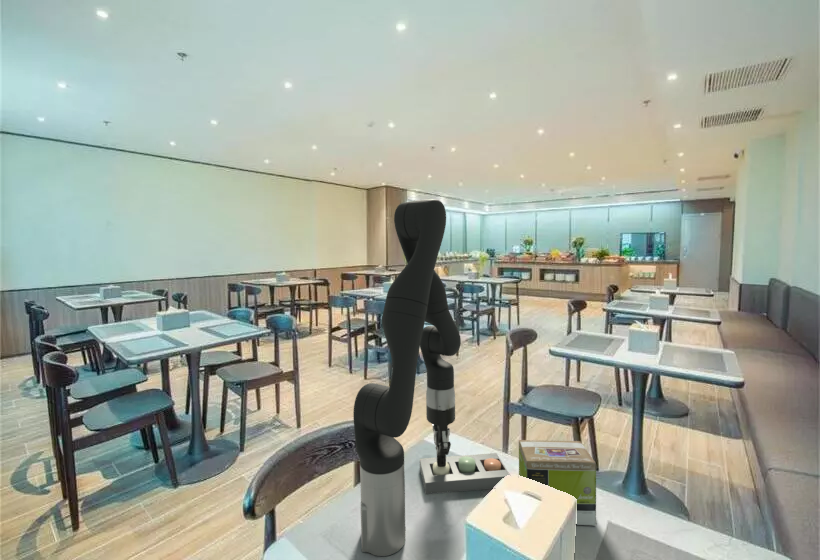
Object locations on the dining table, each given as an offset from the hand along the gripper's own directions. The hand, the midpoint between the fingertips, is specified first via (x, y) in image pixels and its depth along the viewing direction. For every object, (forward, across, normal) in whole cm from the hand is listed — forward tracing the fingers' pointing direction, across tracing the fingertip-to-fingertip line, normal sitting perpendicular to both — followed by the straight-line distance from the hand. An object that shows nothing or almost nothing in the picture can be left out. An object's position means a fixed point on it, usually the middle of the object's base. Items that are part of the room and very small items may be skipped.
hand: (441, 465), depth 101 cm
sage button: (+1, 0, +7) cm, 7 cm away
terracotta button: (+2, 0, +14) cm, 14 cm away
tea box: (+4, +15, +24) cm, 29 cm away
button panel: (+4, 0, +6) cm, 7 cm away
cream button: (+2, 0, 0) cm, 2 cm away
